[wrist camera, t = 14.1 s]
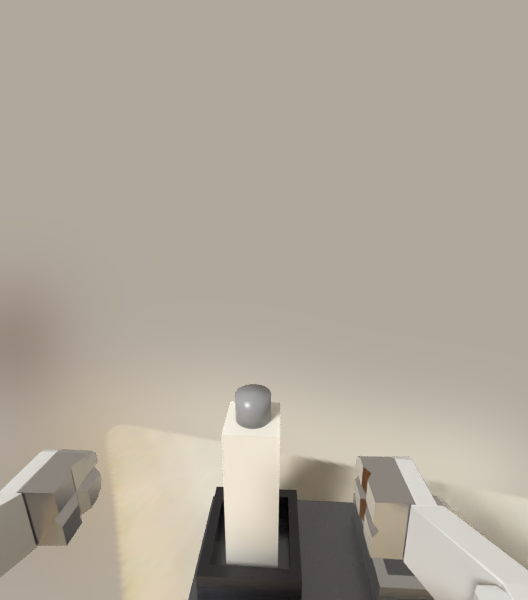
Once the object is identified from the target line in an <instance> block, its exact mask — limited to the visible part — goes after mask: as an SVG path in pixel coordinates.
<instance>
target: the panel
mask: <svg viewBox="0 0 528 600" xmlns="http://www.w3.org/2000/svg"><path fill="white" fill-rule="evenodd" d="M433 498H434V499H435V501H436V503H437V505H438V506H442V504H441V502H440V501H439V499H438V497H437V496H433ZM363 530H364V521H363V520H362V519H361V518H360V517H359V514H358V510H357V505H356V500H355V493H354V499H353V503H345V502H323V501H301V500H297V492H296V490H280V489H279V521H278V568H262V567H244V566H226V541H225V514H224V487H217V488H216V493H215V497H214V496H213V500H212V504H211V508H210V512H209V516H208V520H207V525H206V529H205V533H204V537H203V541H202V545H201V550H200V554H199V558H198V562H197V566H196V570H195V574H194V579H193V583H192V587H191V591H190V595H189V599H188V600H435V599H434V598H433V597H432V596H431V594H430V593H429V592H428V591H427V590H426V588H425V587H424V586H423V585H422V584H421V582H420V581H419V580H418V579H417V578H416V576H415V575H414V574H413V573H412V572H411V570H410V569H409V568H408V567H407V565H406V564H405V563H404V562H403V561H404V560H399V559H385V558H371V557H370V554H369V551H368V547H367V543H366V540H365V536H364V533H363Z"/></svg>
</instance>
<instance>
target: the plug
mask: <svg viewBox="0 0 528 600" xmlns="http://www.w3.org/2000/svg"><path fill="white" fill-rule="evenodd" d="M222 461H223V487H224V514H225V541H226V566H244V567H262V568H278V521H279V468H280V403H271V392H270V390H269V389H268V388H266V387H265V386H262V385H256V384H250V385H245V386H243V387H240V388H239V389H237V391H236V392H235V401H231V402H230V406H229V409H228V413H227V417H226V420H225V424H224V428H223V431H222Z"/></svg>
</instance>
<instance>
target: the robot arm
mask: <svg viewBox="0 0 528 600" xmlns="http://www.w3.org/2000/svg"><path fill="white" fill-rule="evenodd" d="M97 462H98V459H97V455H96V453H95V452H93V451H84V450H56V449H55V450H54V449H46V450H44V451H42V452H40V453H39V454H38V455H37V456H36V457H35V458H34V459H33V460H32V461H31V462H30V463H29V464H28V465H27V466H26V467H25V468H24V469H23V470H22V471H21V472H20V473H18V474H17V475H16V476H15V477H14V478H13V479H12V480H11V481H10V482H9V483H8V484H7V485H6V486H5V487H4V488H3V489H2V490H1V491H0V577H1V576H3V575H4V574H5V573H6V572H8V571H9V570H10V569H11V568H12V567H14V566H15V565H16V564H17V563H19V562H20V561H21V560H22V559H23V558H25V557H26V556H27V555H28V554H29V553H31V552H32V551H33V550H34V549H35V548H36V547H37V546H67V545H68V543H69V541H70V540H71V538H72V537H73V535H74V534H75V532H76V531H77V529H78V528H79V526H80V525H81V523H82V514H84V513H85V512H87V511H88V510H89V509H91V508H92V506H93V505H94V503H95V501H96V500H97V498H98V495H99V492H100V489H101V475H100V472H99V471H98V470H97V469H96V468H95V465H96V464H97ZM356 469H357V472H358V477H357V478H356V479H355V500H356V505H357V510H358V514H359V517H360V518H361V519H362V520H363V521H364V530H363V533H364V536H365V540H366V543H367V547H368V551H369V554H370V557H371V558H385V559H399V560H404V561H403V562H404V563H405V564H406V565H407V567H408V568H409V569H410V570H411V572H412V573H413V574H414V575H415V576H416V578H417V579H418V580H419V581H420V582H421V584H422V585H423V586H424V587H425V588H426V590H427V591H428V592H429V593H430V594H431V596H432V597H433V598H434V599H435V600H528V570H527V569H526V568H524V567H523V566H522V565H520V564H519V563H518V562H517V561H515V560H514V559H513V558H511V557H510V556H509V555H507V554H506V553H505V552H503V551H502V550H501V549H500V548H498V547H497V546H496V545H494V544H493V543H492V542H490V541H489V540H488V539H486V538H485V537H484V536H483V535H481V534H480V533H479V532H477V531H476V530H475V529H473V528H472V527H471V526H469V525H468V524H467V523H466V522H464V521H463V520H462V519H460V518H459V517H458V516H456V515H455V514H454V513H452V512H451V511H450V510H448V509H447V508H446V507H445V506H438V505H437V503H436V501H435V499H434V498H433V496H432V494H431V492H430V490H429V489H428V487H427V485H426V483H425V481H424V480H423V478H422V476H421V474H420V473H419V471H418V469H417V467H416V465H415V464H414V462H413V460H412V459H411V458H410V457H362V456H361V457H360V456H358V457H357V461H356Z"/></svg>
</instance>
